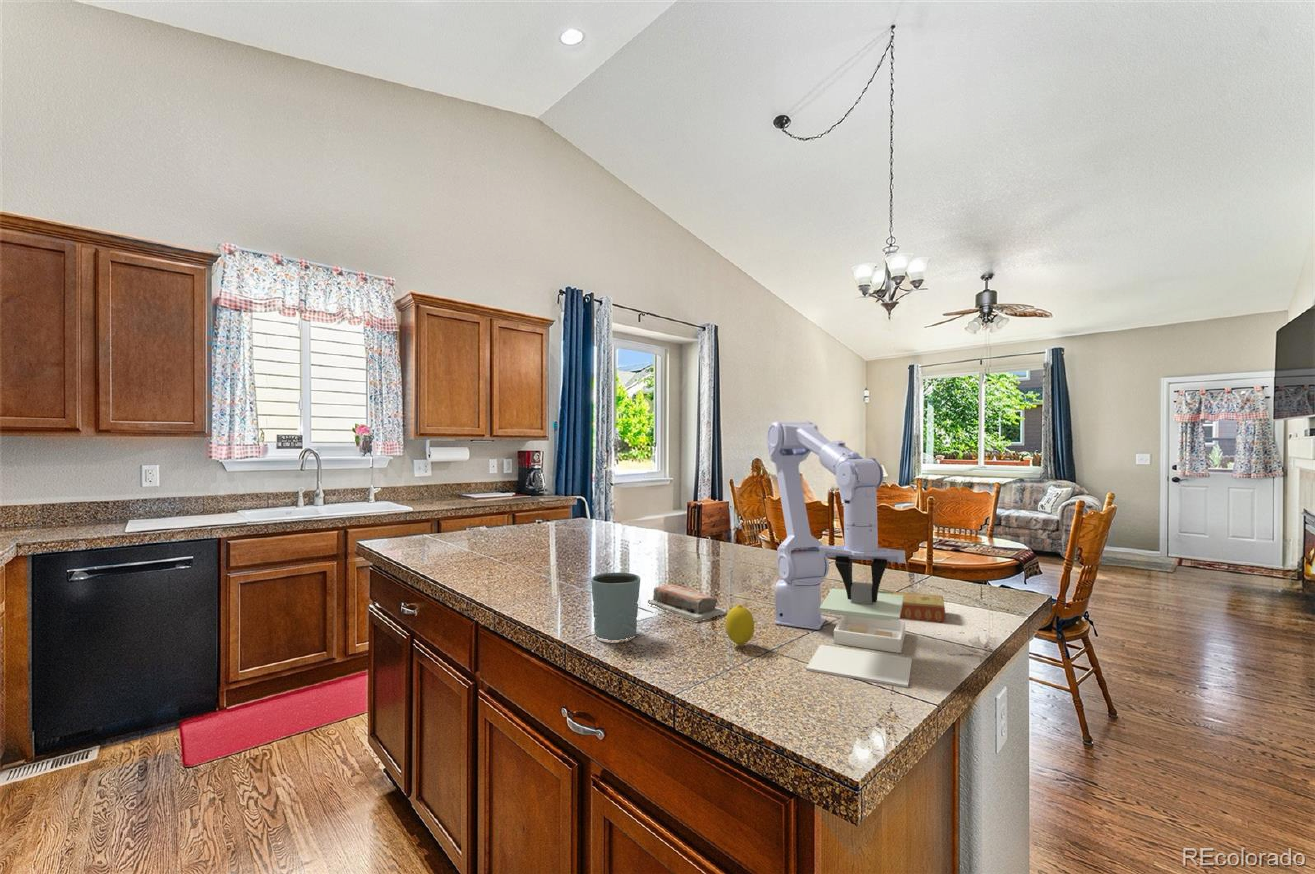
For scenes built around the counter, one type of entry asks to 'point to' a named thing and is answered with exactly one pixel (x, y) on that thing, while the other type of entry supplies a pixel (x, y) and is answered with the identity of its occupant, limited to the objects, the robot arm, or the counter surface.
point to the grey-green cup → (615, 605)
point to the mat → (861, 665)
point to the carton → (921, 607)
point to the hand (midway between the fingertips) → (862, 599)
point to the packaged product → (685, 602)
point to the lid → (863, 603)
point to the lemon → (739, 625)
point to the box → (870, 633)
